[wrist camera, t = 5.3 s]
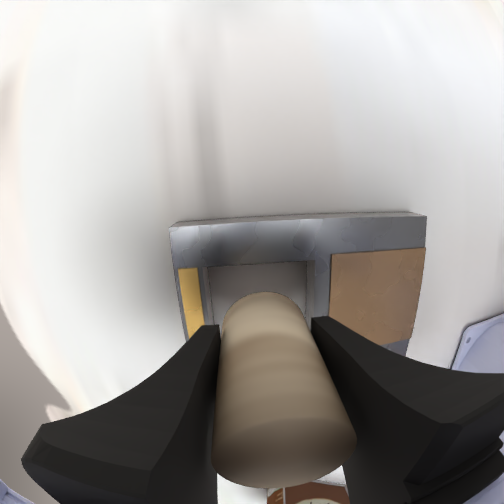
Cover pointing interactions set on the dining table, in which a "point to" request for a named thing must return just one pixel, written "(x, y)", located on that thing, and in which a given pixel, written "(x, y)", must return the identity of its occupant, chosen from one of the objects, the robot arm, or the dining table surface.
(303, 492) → the food container
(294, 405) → the peg
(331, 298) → the plate
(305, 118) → the dining table surface
